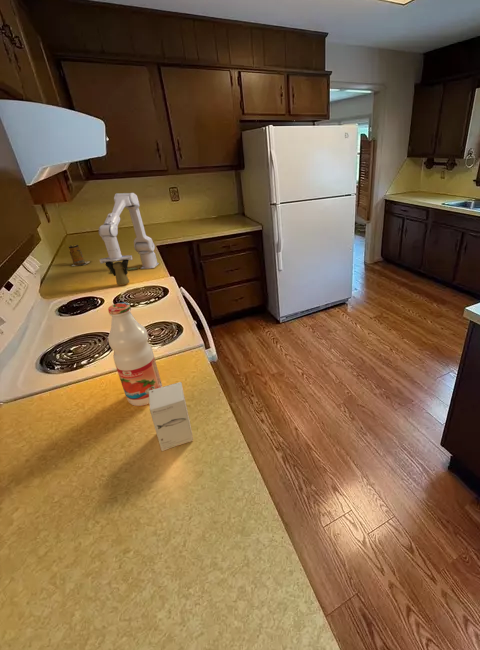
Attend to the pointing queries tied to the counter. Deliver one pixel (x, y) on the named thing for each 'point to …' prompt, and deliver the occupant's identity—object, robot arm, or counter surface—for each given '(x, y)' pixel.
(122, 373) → the fruit juice
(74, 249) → the condiment
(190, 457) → the counter surface
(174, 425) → the white packaging box
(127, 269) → the spoon
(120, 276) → the cork
